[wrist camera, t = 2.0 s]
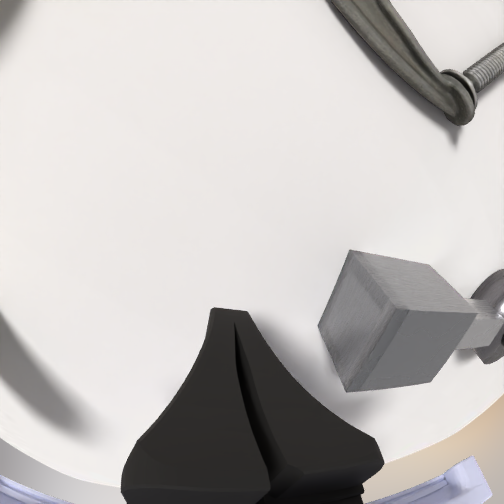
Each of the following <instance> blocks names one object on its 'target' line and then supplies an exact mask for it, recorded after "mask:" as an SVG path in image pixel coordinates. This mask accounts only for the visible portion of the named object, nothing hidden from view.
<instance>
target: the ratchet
mask: <svg viewBox="0 0 504 504" xmlns="http://www.w3.org/2000/svg"><path fill="white" fill-rule="evenodd" d="M464 299H465V300H466V301H467V302H468V303H469V304H470V305H471V306H472V307H473V308H474V309H475V310H476V311H477V312H478V314H477V316H476V318H475V319H474V321H473V322H472V324H471V326H470V327H469V329H468V330H467V332H466V334H465V335H464V337H463V338H462V340H461V341H460V343H459V344H458V346H457V347H456V348H455V350H459V349H468V348H472V349H473V350H474V351H475V353H476V354H477V355H478V357H479V358H480V359H481V360H482V362H483V363H484V364H491V363H493V362H495V361H497V360H499V359H500V358H501V357H503V356H504V269H501V270H499V271H497V272H495V273H493V274H492V275H491V276H489V277H488V278H487V279H486V280H485V281H484V282H483V283H482V284H481V285H480V286H479V288H478V289H477V290H476V291H475V293H474V294H473V296H472V297H471V298H470V299H467V298H464Z"/></svg>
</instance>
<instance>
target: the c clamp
mask: <svg viewBox="0 0 504 504" xmlns="http://www.w3.org/2000/svg"><path fill="white" fill-rule="evenodd" d="M331 1H332V3H333V4H334V5H335V6H336V8H337V9H338V10H339V11H340V12H341V14H342V15H343V16H344V17H345V18H346V19H347V21H348V22H349V23H350V24H351V25H352V27H353V28H354V29H355V30H356V31H357V32H358V34H359V35H360V36H361V37H362V38H363V39H364V40H365V41H366V42H367V44H368V45H369V46H370V47H371V48H372V49H373V50H374V51H375V52H376V53H377V54H378V55H379V57H380V58H381V59H382V60H383V61H384V62H385V63H386V64H387V65H388V66H389V67H390V68H391V69H392V70H393V71H395V72H396V73H397V74H398V75H399V76H400V77H401V78H402V79H403V80H404V81H406V82H407V83H408V84H409V85H410V86H411V87H412V88H414V89H415V90H416V91H417V92H418V93H420V94H421V95H422V96H423V97H425V98H426V99H427V100H429V101H430V102H431V103H433V104H434V105H435V106H437V107H438V108H440V109H441V110H443V111H444V113H445V115H446V117H447V119H448V120H450V121H451V122H452V123H454V124H455V125H458V126H460V125H466V124H468V123H469V122H470V121H471V120H472V119H473V117H474V114H475V109H476V107H477V95H476V93H478V92H479V91H480V90H482V89H483V88H485V86H487V85H488V84H489V83H490V82H492V81H493V80H494V79H495V78H496V77H498V76H499V75H500V74H501V73H502V72H504V43H502V44H501V45H499V46H498V47H496V48H495V49H494V50H492V51H491V52H490V53H488V54H487V55H485V56H484V57H483V58H481V59H480V60H479V61H477V62H476V63H474V64H473V65H472V66H470V67H469V68H467V70H465V71H464V72H463V74H461V73H459V72H458V71H455V70H451V69H448V70H443V71H442V72H439V71H438V70H437V68H436V67H435V66H434V64H433V63H432V62H431V60H430V59H429V57H428V56H427V55H426V53H425V52H424V50H423V49H422V47H421V46H420V44H419V43H418V41H417V40H416V38H415V37H414V35H413V33H412V32H411V30H410V29H409V28H408V26H407V25H406V23H405V22H404V21H403V19H402V18H401V16H400V15H399V14H398V12H397V11H396V10H395V8H394V7H393V6H392V4H391V2H390V0H331Z"/></svg>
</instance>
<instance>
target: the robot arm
mask: <svg viewBox="0 0 504 504" xmlns="http://www.w3.org/2000/svg"><path fill="white" fill-rule="evenodd" d="M383 465H384V459H383V457H382V454H381V452H380V449H379V447H378V445H377V442H376V441H375V438H373V437H371V436H369V435H367V434H366V433H364V432H362V431H360V430H358V429H357V428H355V427H353V426H351V425H350V424H348V423H347V422H345V421H344V420H342V419H341V418H339V417H338V416H336V415H335V414H334V413H332V412H331V411H330V410H328V409H327V408H326V407H324V406H323V405H322V404H321V403H320V402H318V401H317V400H316V399H315V398H314V397H312V396H311V395H310V394H309V393H308V392H307V391H306V390H305V389H304V388H303V387H302V386H301V385H300V384H299V383H298V382H297V381H296V380H295V379H294V378H293V377H292V375H291V374H290V373H289V372H288V371H287V370H286V368H285V367H284V366H283V365H282V363H281V362H280V361H279V360H278V358H277V357H276V356H275V354H274V353H273V351H272V350H271V348H270V347H269V346H268V344H267V343H266V341H265V340H264V338H263V337H262V335H261V333H260V332H259V330H258V328H257V327H256V325H255V323H254V322H253V320H252V318H251V317H250V315H249V313H248V312H247V311H241V310H232V309H223V308H215V307H214V308H212V309H211V311H210V316H209V321H208V326H207V332H206V337H205V340H204V343H203V346H202V348H201V350H200V352H199V354H198V357H197V359H196V361H195V363H194V365H193V367H192V369H191V371H190V372H189V374H188V376H187V378H186V379H185V381H184V383H183V384H182V386H181V387H180V389H179V390H178V392H177V393H176V395H175V396H174V398H173V399H172V401H171V402H170V403H169V405H168V406H167V407H166V408H165V410H164V411H163V412H162V414H161V415H160V416H159V417H158V419H157V420H156V421H155V422H154V423H153V424H152V425H151V427H150V428H149V429H148V430H147V431H146V432H145V433H144V434H143V435H142V436H141V437H140V438H139V439H138V440H137V442H136V444H135V446H134V448H133V449H132V451H131V453H130V455H129V457H128V459H127V461H126V463H125V466H124V468H123V472H122V478H121V493H122V495H123V497H124V499H125V500H126V502H127V504H363V501H362V498H361V494H363V493H364V488H363V485H362V483H364V482H365V481H366V480H368V479H369V478H371V477H372V476H373V475H375V474H376V473H377V472H378V471H379V470H381V468H382V467H383ZM491 496H492V492H491V490H490V488H489V486H488V484H487V482H486V480H485V478H484V476H483V474H482V472H481V470H480V468H479V466H478V464H477V462H476V460H475V458H474V456H470V457H468V458H466V459H464V460H463V461H461V462H459V463H457V464H455V465H454V466H453V467H451V468H450V469H448V470H447V471H446V472H445V473H444V474H442V475H440V476H438V477H436V478H433V479H431V480H429V481H426V482H424V483H422V484H419V485H417V486H415V487H412V488H410V489H407V490H404V491H402V492H399V493H396V494H393V495H391V496H388V497H385V498H382V499H379V500H375V501H373V502H369V503H366V504H482V503H484V502H485V501H486V500H488V499H489V498H490V497H491ZM0 504H74V503H70V502H67V501H64V500H61V499H58V498H55V497H52V496H49V495H47V494H44V493H41V492H39V491H36V490H33V489H31V488H29V487H26V486H24V485H22V484H19V483H17V482H15V481H13V480H11V479H8V478H6V477H4V476H2V475H0Z"/></svg>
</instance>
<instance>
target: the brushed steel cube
mask: <svg viewBox="0 0 504 504" xmlns="http://www.w3.org/2000/svg"><path fill="white" fill-rule="evenodd" d="M477 314H478V312H477V311H476V310H475V309H474V308H473V307H472V306H471V305H470V304H469V303H468V302H467V301H466V300H465V299H464V298H463V297H462V296H461V295H460V294H459V293H458V292H457V291H456V290H455V289H454V288H453V287H452V286H451V285H450V284H449V283H448V282H447V281H446V280H445V279H444V278H443V277H442V276H440V275H439V274H438V273H437V272H436V271H435V270H434V269H433V268H432V267H431V266H430V265H428V264H423V263H418V262H412V261H407V260H402V259H397V258H392V257H386V256H381V255H376V254H370V253H365V252H360V251H354V250H349V252H348V255H347V257H346V260H345V263H344V265H343V268H342V270H341V273H340V275H339V277H338V280H337V282H336V285H335V287H334V290H333V292H332V294H331V297H330V299H329V301H328V304H327V306H326V308H325V310H324V313H323V315H322V317H321V319H320V322H319V324H318V328H319V330H320V332H321V335H322V337H323V339H324V341H325V344H326V346H327V348H328V351H329V353H330V355H331V358H332V360H333V363H334V365H335V367H336V370H337V372H338V374H339V377H340V379H341V382H342V384H343V386H344V389H345V391H346V392H358V391H369V390H379V389H388V388H396V387H403V386H410V385H417V384H423V383H429V382H431V381H432V380H433V378H434V377H435V376H436V375H437V373H438V372H439V371H440V369H441V368H442V367H443V365H444V364H445V363H446V361H447V360H448V358H449V357H450V356H451V354H452V353H453V351H454V350H455V348H456V347H457V346H458V344H459V343H460V341H461V340H462V338H463V337H464V335H465V334H466V332H467V330H468V329H469V327H470V326H471V324H472V322H473V321H474V319H475V318H476V316H477Z"/></svg>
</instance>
